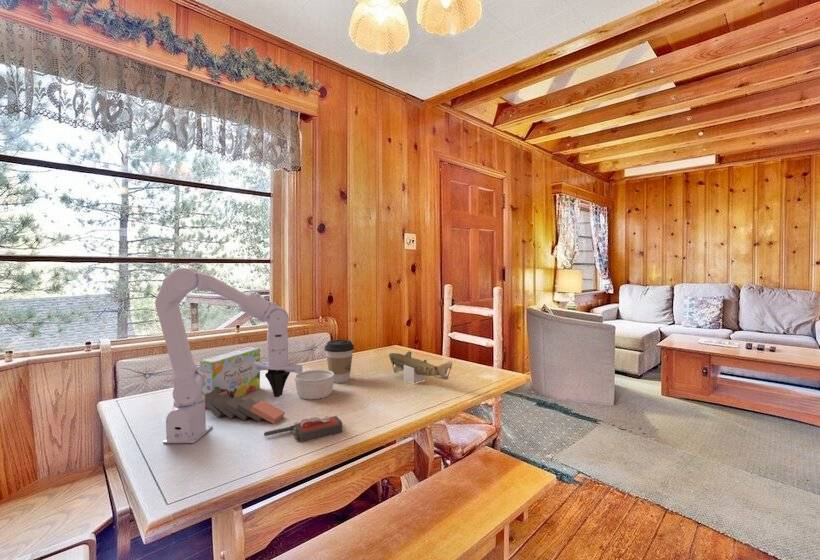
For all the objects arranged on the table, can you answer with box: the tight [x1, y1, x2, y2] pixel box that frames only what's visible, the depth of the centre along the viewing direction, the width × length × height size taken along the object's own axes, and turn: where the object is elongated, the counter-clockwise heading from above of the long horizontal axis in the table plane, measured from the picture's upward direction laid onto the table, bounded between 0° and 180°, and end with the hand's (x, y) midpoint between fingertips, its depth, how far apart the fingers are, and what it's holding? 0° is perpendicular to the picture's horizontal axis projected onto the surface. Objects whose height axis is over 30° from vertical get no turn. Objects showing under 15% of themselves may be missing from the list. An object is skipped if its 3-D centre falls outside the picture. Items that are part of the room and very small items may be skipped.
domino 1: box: [204, 390, 226, 418], centre depth 114 cm, size 2×5×8 cm
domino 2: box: [211, 393, 237, 420], centre depth 113 cm, size 2×5×8 cm
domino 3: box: [223, 396, 251, 422], centre depth 112 cm, size 2×5×8 cm
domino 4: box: [237, 398, 265, 423], centre depth 111 cm, size 2×5×8 cm
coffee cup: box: [324, 339, 355, 384], centre depth 146 cm, size 11×11×15 cm
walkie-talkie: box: [263, 415, 343, 443], centre depth 101 cm, size 9×4×20 cm
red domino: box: [250, 399, 285, 424], centre depth 110 cm, size 2×5×8 cm
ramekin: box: [294, 369, 334, 401], centre depth 131 cm, size 13×13×7 cm
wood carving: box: [388, 351, 453, 384], centre depth 144 cm, size 9×35×11 cm, turn 40°
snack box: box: [199, 346, 261, 409], centre depth 128 cm, size 21×6×15 cm, turn 161°
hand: (278, 395), depth 109 cm, fingers closed
